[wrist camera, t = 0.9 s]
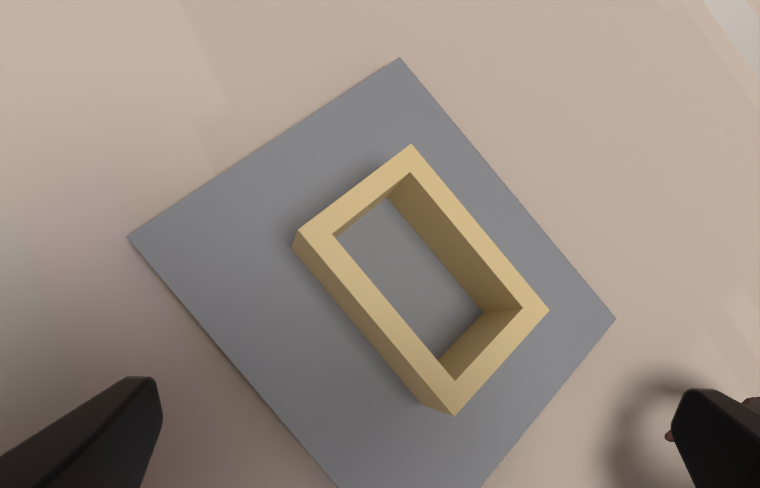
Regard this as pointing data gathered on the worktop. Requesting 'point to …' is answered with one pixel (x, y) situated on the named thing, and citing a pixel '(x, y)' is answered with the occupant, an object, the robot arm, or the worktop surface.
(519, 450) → the worktop surface
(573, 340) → the grey board with socket
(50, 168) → the worktop surface
